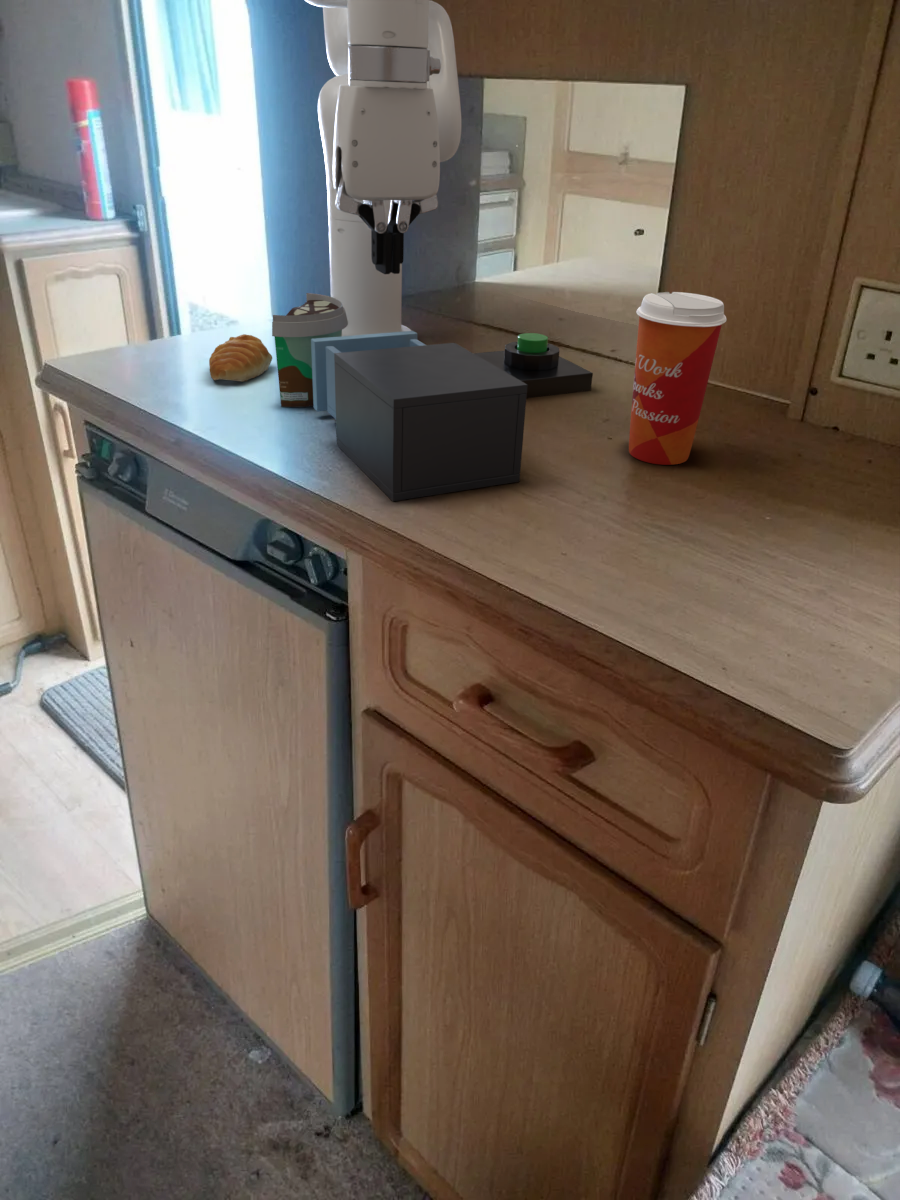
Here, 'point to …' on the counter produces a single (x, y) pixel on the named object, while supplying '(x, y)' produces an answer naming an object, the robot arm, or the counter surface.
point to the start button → (532, 343)
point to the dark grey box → (429, 419)
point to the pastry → (239, 359)
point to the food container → (303, 344)
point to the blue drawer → (328, 346)
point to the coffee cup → (672, 373)
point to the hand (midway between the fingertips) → (387, 271)
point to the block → (541, 370)
